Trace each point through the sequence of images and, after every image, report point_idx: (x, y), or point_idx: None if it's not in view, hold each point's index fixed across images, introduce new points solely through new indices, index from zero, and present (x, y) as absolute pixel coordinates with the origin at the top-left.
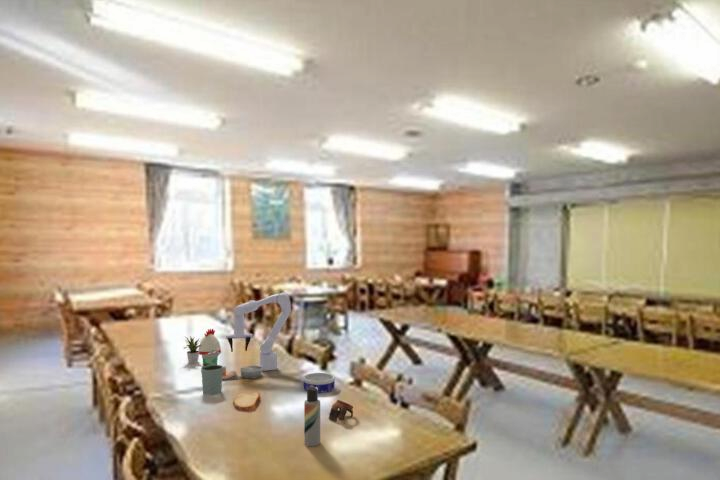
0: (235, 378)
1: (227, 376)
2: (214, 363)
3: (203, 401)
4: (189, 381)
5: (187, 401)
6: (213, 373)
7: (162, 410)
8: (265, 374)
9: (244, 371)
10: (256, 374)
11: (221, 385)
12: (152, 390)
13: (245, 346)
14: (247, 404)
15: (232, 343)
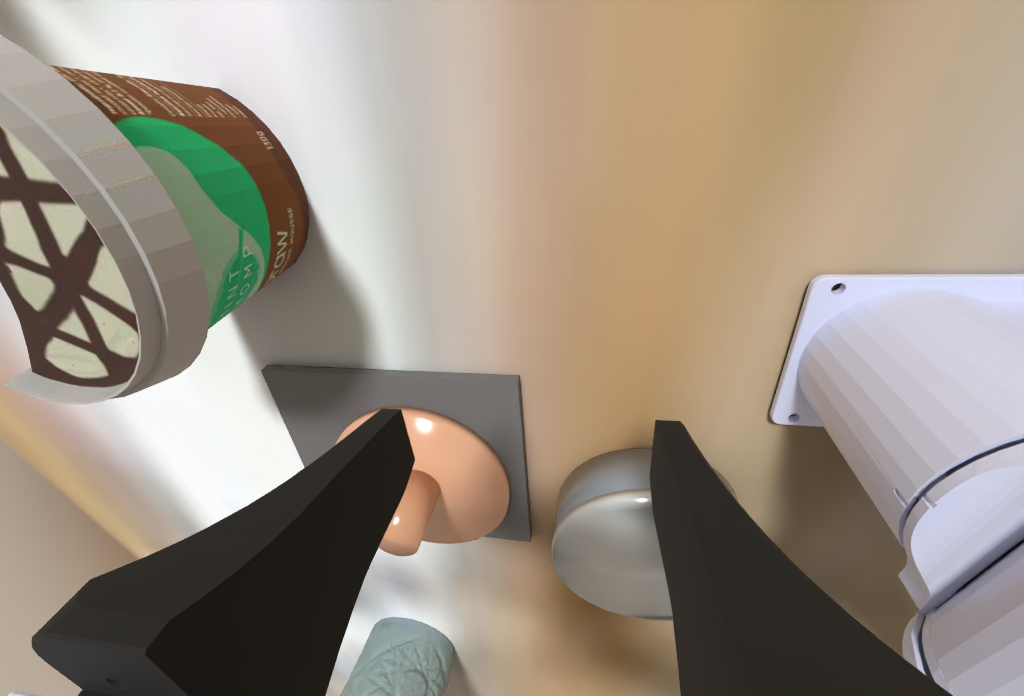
0: (517, 538)
1: (457, 531)
2: (249, 293)
3: None
4: (230, 474)
5: (344, 670)
6: None
7: None
8: (774, 512)
9: (579, 592)
10: None
11: (445, 689)
12: (129, 535)
13: (672, 497)
14: None
15: (336, 652)
